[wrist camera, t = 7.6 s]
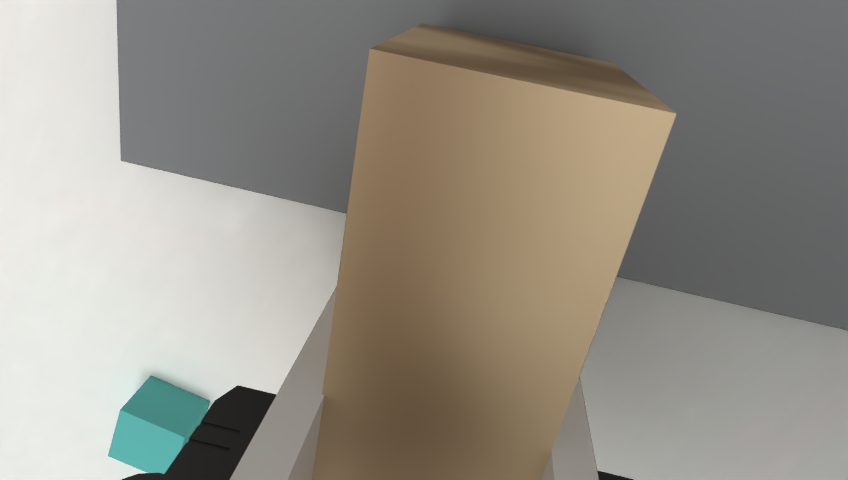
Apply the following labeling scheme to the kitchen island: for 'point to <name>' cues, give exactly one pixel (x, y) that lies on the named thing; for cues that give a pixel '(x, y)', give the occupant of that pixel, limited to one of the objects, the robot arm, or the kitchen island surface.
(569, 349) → the tan bevelled pillar
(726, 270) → the mat
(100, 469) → the kitchen island surface
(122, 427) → the alien figure
